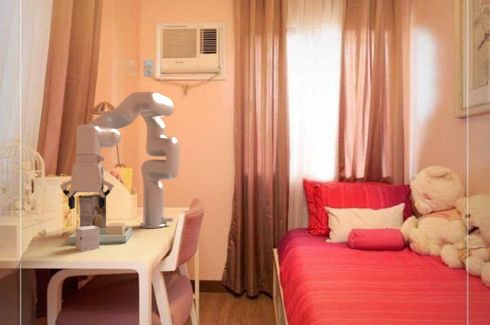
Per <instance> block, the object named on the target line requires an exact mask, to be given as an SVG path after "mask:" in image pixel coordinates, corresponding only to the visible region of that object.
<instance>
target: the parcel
mask: <svg viewBox="0 0 490 325" xmlns="http://www.w3.org/2000/svg"><path fill="white" fill-rule="evenodd" d="M125 228H126V223H125V222H115V223H114V222H111V223H110V222H109V223H107V224H106V235H124V234H125Z"/></svg>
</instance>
